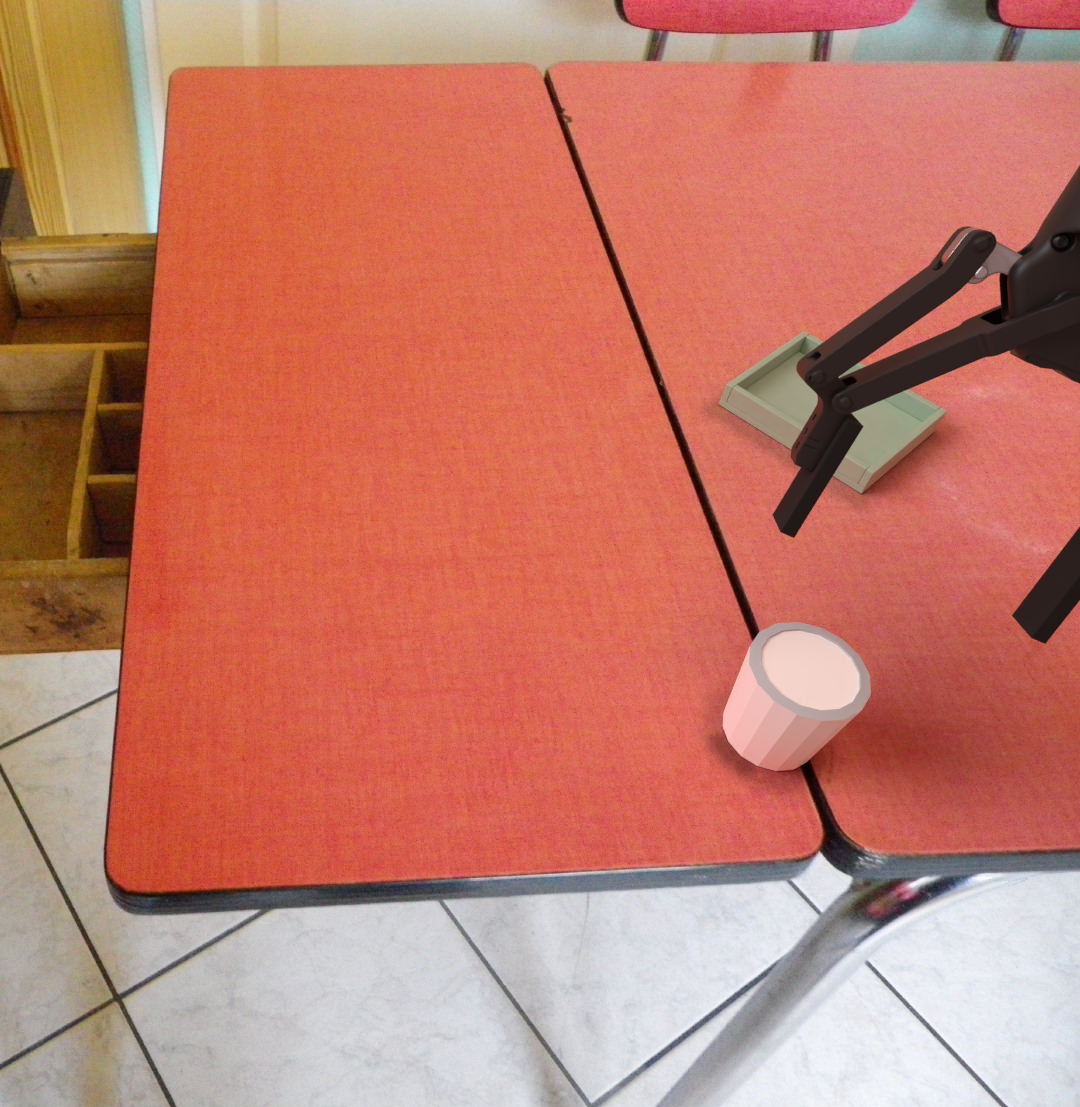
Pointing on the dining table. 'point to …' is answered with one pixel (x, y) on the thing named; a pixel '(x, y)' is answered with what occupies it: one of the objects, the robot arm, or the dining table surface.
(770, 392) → the green tray
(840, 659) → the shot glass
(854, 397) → the robot arm
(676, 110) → the dining table surface
